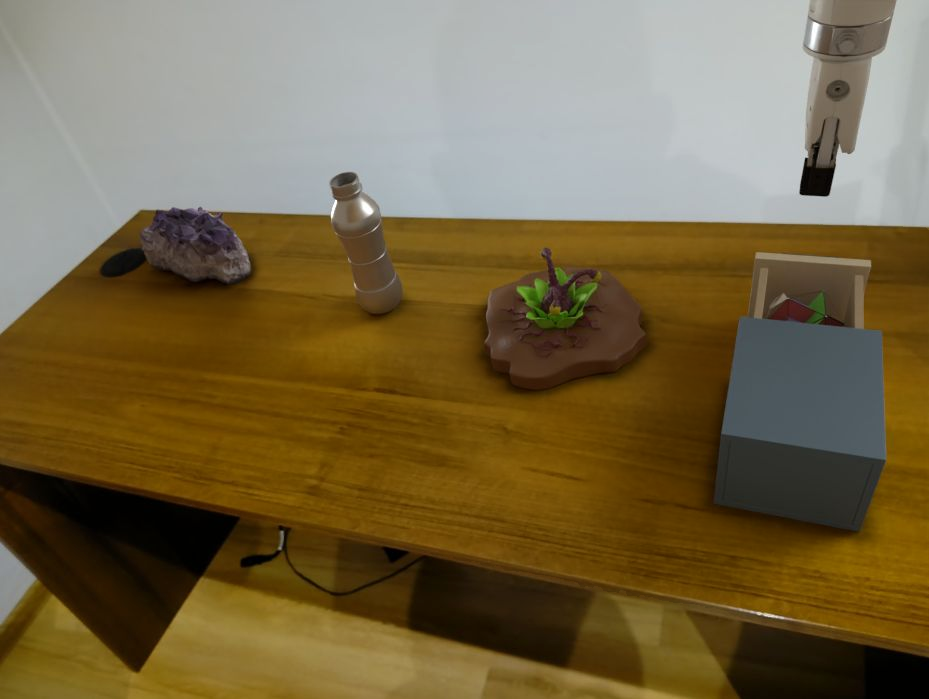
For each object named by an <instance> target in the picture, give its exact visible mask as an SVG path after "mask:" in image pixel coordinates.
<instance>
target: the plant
mask: <svg viewBox="0 0 929 699" xmlns="http://www.w3.org/2000/svg"><path fill="white" fill-rule="evenodd" d="M552 254H553V252H552V249H551V248H550V247H543V248H542V249H541V250H540V252H539V256H540V258H541V259H542V260H546V261H545V262H546V265H547V269H546V270H540V271H534V272H529V273H527V274H525V275H524V276H523V277H521V278H520V279H518V280H516V281H513V282H510V283H507V284H503V285H502V286H499V287H496V288H493V289H491V290H490V291H489V296H488V297H487V302H486V303H487V304H486V305H487V310H486V313H485V320H486V326H487V330H488V335H487V338H486V339H485V341H484V342H483V349H484V354H485V355H486V356H488V357H490V362H491V365H492V368H493V370H494V371H495V372H498V373H503V374H509V380H510V383H511V385H512V386H515V387H518V388H521V389H525V390H532V391H542V390H547V389H550V388H554V387H556V386H559V385H561V384H564V383H566V382H568V381H571V380H574V379H579V378H582V377H587V376H592V375H596V374H603V373H604V374H605V373H614V372H617V371H618V370H619V369H620V368H621V367H624V366H625V365H628V364H629V363H630V362H633V360H634V359H635V357H636V356H637V355H638V353H639V352H640V351H642V350H643V349H645V348H646V347H647V334H646V332H645V331H644V329H642V327H640V326H641V325H642V323H643V310H642V307H641V305H640V304H639V302H638V301H636V300H635V299H634V298H633V296H632V295H631V294H630V293H629V292H628V290H627V289H626V287H625V286H624V285H623V284H622V283H621V282H620V280H619V279H618V278H617V277H616V276H614V275H613V274H612V273H611V272H610V271H608V270H607V269H600V268H599V269H598V268H597V269H596V268H588V267H576V266H570V267H569V266H567V267H556V268H555V264H554V263H553V260H552V256H553V255H552Z"/></svg>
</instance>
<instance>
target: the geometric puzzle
mask: <svg viewBox="0 0 929 699" xmlns="http://www.w3.org/2000/svg"><path fill="white" fill-rule="evenodd" d="M818 292H821V291H818ZM812 293H813V292H811V294H812ZM815 293H817V292H815ZM824 293H825V292H824V290H823V292H822V293H821V294H820V295H819V296H818V297H817V298H816V299H815V300H814V301H813V302H812V303H811V304H810V305H809V306H807V305H805V304H803V303H800V302H798V301H796V300H794V299H792V298H793V297H792V298H789V297H787V296H786V295H785V293H783V294H781V296H780V297H779V298H778V297H777V298H778V299H777V298H776V299H777V300H776V299H775V300H776V301H775V300H774V301H773V302H772V303H771V305H770V306H769V308H770V309H769V311H768V314H769V312H770V310H771V308H773V307H775V306H776V305H778V304H780V303H781V302H783V301H784V300H785V302H784V303H783V304H782V305H781V306H780V307H779V308H778V309H777V310H776V311H775V310H774V311H775V312H774V311H773V312H774V313H773V314H772V316H771V315H770V316H771V317H770V318H769V319H770V320H780V321H790V322H799V323H809V324H819V325H829V326H839V327H843V326H844V325H846V324H845V323H842V322H840V321H838V320H836V319H834V318H832V317H830V316H828V315H826V308H825V298H824ZM804 294H806V293H804ZM797 295H798V294H797ZM806 295H807V294H806ZM790 296H791V295H790ZM801 296H803V295H801ZM826 296H827V295H826ZM796 297H798V296H796ZM828 299H829V298H828ZM831 304H832V303H831ZM778 306H779V305H778ZM778 306H777V307H778ZM833 307H834V306H833ZM835 310H836V309H835ZM837 313H838V312H837ZM768 314H767V316H768ZM839 316H840V315H839ZM766 318H767V317H766ZM842 321H843V320H842Z"/></svg>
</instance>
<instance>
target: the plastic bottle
mask: <svg viewBox="0 0 929 699" xmlns="http://www.w3.org/2000/svg"><path fill="white" fill-rule="evenodd" d="M328 184H329V187H330V190H331V196H332V198H333V199H334V200H335V201H334V204H333V206H332V209H331V213H330V223H331V226H332V229H333V231H334V233H335V235H336V236H337V238H338V241H339V243H340V244H341V246H342V248H343V251H344V253H345V256H346V258H347V261H348V263H349V265H350V269H351V274H352V279H353V285H354V292H355V298H356V301H357V302H358V304H359V306H360V307H361V309H363V310H364V311H365V312H368V313H369V314H373V315H381V314H382V315H383V314H386V313H389V312H390V311H392V310H394V309H396V307H398V306H399V304H400V302H401V300H402V298H403V295H404V294H403V293H404V292H403V291H404V290H403V283H402V279H401V278H400V276H399V274H398V272H397V271H396V269H395V267H394V265H393V264H394V263H393V261H392V259H391V257H390V254H389V251H388V247H387V244H386V239H385V235H384V227H383V219H382V218H383V217H382V213H381V208H380V206H379V204H378V203H377V201H376V200H375V199H374V198H372V197H371V196H370V195H368V194H367V193H365V192H364V191H363V188H364V187H363V185H362V182H361V181H360V177H359V175H358V174H357V172H354V171H345V172H341V173H338V174H336V175H334V176H333V177H332V178H331V179H330V180H329V182H328Z"/></svg>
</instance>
